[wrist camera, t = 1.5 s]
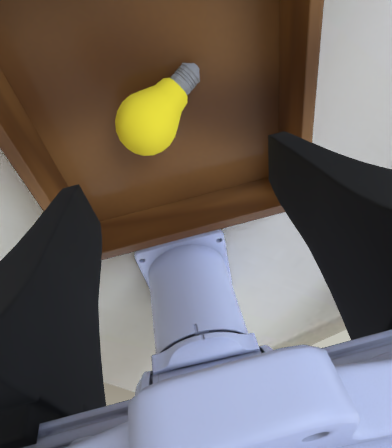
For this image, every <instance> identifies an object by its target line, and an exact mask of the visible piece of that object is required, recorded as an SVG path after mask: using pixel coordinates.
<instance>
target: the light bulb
mask: <svg viewBox="0 0 392 448" xmlns="http://www.w3.org/2000/svg"><path fill="white" fill-rule="evenodd" d="M199 70H200V69H199V67H198V66H197V65H196V64H195V63H182V64H181V66H180V67H178V69H177V70H176V71H175V72H174V73H175V74H173V75H172V76H171V78H163V79H162V80H161V81H159V82H158V83H157V84H156V85H154V86H152V87H149V88H146V89H143V90H140V91H138V92H136V93H134V94H131V95H130V96H128V97H127V98H126V99H125V100H124V101H123V102H122V103H121V105H120V107H119V108H118V110H117V114H116V118H115V127H116V133H117V135H118V137H119V140H120V141H121V142H122V144H123V145H124V146H125V147H126V148H127V149H129V150H130V151H132V152H133V153H135V154H139V155H142V156H150V155H155V154H158V153H160V152H162V151H164V150H165V149H166V148H167V147H168V146H170V144H171V143H172V141H173V139H174V138H175V135H176V132H177V129H178V125H179V121H180V117H181V113H182V111H183V109H184V107H185V106H186V104H187V95H188V94H189V93H191V92H190V91H192V90H193V88H195V86H197V83H199V82H200V74H199Z"/></svg>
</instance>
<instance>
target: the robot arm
mask: <svg viewBox="0 0 392 448" xmlns="http://www.w3.org/2000/svg"><path fill="white" fill-rule="evenodd" d="M268 170H269V182H270V184H271V186H272V189H273V191H274V193H275V195H276V197H277V199H278V201H279V203H280V204H281V206H282V207H283V209H284V210H285V212H286V213H287V215H288V216H289V218H290V219H291V221H292V222H293V224H294V225H295V227H296V229H297V230H298V232H299V233H300V235H301V236H302V238H303V239H304V241H305V242H306V244H307V246H308V247H309V249H310V251H311V253H312V255H313V257H314V259H315V261H316V263H317V265H318V267H319V269H320V270H321V273H322V275H323V277H324V279H325V281H326V283H327V285H328V287H329V289H330V292H331V294H332V296H333V298H334V301H335V303H336V305H337V307H338V310H339V312H340V314H341V316H342V319H343V321H344V324H345V326H346V329H347V331H348V333H349V336H350V338H351V340H350V341H347V342H343V343H340V344H336V345H332V346H328V347H325V348H318V347H313V346H309V345H298V346H291V347H284V348H279V349H275V350H272V349H271V348H270V347H269V346H267V345H263V346H259V345H258V343H257V340H256V337H255V334H254V333H249V334H248V331H247V328H246V325H245V322H244V319H243V316H242V313H241V310H240V307H239V304H238V301H237V298H236V295H235V292H234V289H233V286H232V281H231V275H230V269H229V263H228V257H227V251H226V245H225V239H224V234H223V232H222V231H221V230H214V231H210V232H207V233H203V234H199V235H195V236H191V237H188V238H184V239H180V240H176V241H172V242H169V243H165V244H161V245H157V246H153V247H150V248H146V249H142V250H138V251H136V252H135V254H134V257H135V260H136V262H137V264H138V266H139V268H140V270H141V272H142V274H143V276H144V278H145V280H146V282H147V284H148V287H149V289H150V293H151V304H152V316H153V327H154V338H155V349H156V354H155V355H152V370H153V371H148V372H144V374H143V375H142V378H141V379H140V381H139V383H138V384H137V387H136V392H135V396H134V397H133V398H132V399H130V400H127V401H123V402H119V403H116V404H112V405H108V406H106V402H105V394H104V385H103V374H102V363H101V352H100V336H99V314H98V298H99V284H100V272H101V259H102V233H101V223H100V221H99V220H98V218H97V216H96V214H95V212H94V211H93V209H92V207H91V205H90V203H89V201H88V200H87V198H86V196H85V194H84V192H83V191H82V189H81V187H80V185H79V184H78V185H74V186H70V187H66V188H63V189H62V190H61V191H60V192H59V193H58V194H57V196H56V197H55V198H54V199H53V201H52V202H51V203H50V204H49V206H48V207H47V208H46V210H45V211H44V212H43V213H42V215H41V216H40V217H39V218H38V220H37V221H36V222H35V224H34V225H33V226H32V227H31V228H30V229H29V231H28V232H27V233H26V234H25V235H24V236H23V238H22V239H21V240H20V241H19V242H18V243H17V245H16V246H15V247H14V248H13V249H12V250H11V251H10V252H9V253H8V254H7V255H6V256H5V257H4V258H3V259H2V260H1V261H0V448H392V169H387V168H383V167H379V166H375V165H372V164H368V163H364V162H361V161H358V160H355V159H352V158H349V157H346V156H343V155H341V154H338V153H335V152H333V151H330V150H328V149H325V148H323V147H320V146H318V145H316V144H313V143H311V142H309V141H307V140H304V139H302V138H300V137H298V136H295V135H293V134H290V133H288V132H285V131H283V132H279V133H275V134H271V135H268ZM218 238H220V239H218Z"/></svg>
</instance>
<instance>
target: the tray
mask: <svg viewBox="0 0 392 448" xmlns="http://www.w3.org/2000/svg"><path fill="white" fill-rule="evenodd" d="M323 5H324V0H0V148H1V150H2V151H3V153H4V154H5V156H6V157H7V159H8V160H9V161H10V163H11V164H12V166H13V167H14V169H15V170H16V172H17V173H18V175H19V176H20V177H21V179H22V180H23V182H24V183H25V185H26V186H27V188H28V189H29V191H30V192H31V193H32V195H33V196H34V198H35V199H36V201H37V202H38V204H39V205H40V207H41V208H42V209H43V211H45V210H46V208H47V207H48V206H49V204H50V203H51V202H52V201H53V199H54V198H55V197H56V196H57V194H58V193H59V192H60V191H61V190H62V189H63V188H66V187H70V186H74V185H78V184H79V185H80V187H81V189H82V191H83V192H84V194H85V196H86V198H87V200H88V201H89V203H90V205H91V207H92V209H93V211H94V212H95V214H96V216H97V218H98V220H99V221H100V223H101V233H102V259H101V260H104V259H108V258H112V257H115V256H119V255H123V254H127V253H131V252H134V251H138V250H142V249H146V248H150V247H153V246H157V245H161V244H165V243H169V242H172V241H176V240H180V239H184V238H188V237H191V236H195V235H199V234H203V233H207V232H210V231H214V230H218V229H222V228H226V227H229V226H233V225H237V224H241V223H245V222H248V221H252V220H256V219H260V218H264V217H268V216H271V215H275V214H279V213H283V212H285V210H284V209H283V207H282V206H281V204H280V203H279V201H278V199H277V197H276V195H275V193H274V191H273V189H272V186H271V184H270V182H269V170H268V135H271V134H275V133H279V132H283V131H285V132H288V133H290V134H293V135H295V136H298V137H300V138H302V139H304V140H307V141H309V142H311V143H312V134H313V123H314V111H315V99H316V87H317V76H318V64H319V52H320V40H321V29H322V17H323ZM182 63H195V64H196V65H197V66H198V67H199V69H200V70H199V74H200V82H199V83H197V86H195V88H193V90H192V91H190V92H191V93H189V94H188V95H187V104H186V106H185V107H184V109H183V111H182V113H181V117H180V121H179V125H178V129H177V132H176V135H175V138H174V139H173V141H172V143H171V144H170V146H168V147H167V148H166V149H165V150H164V151H162V152H160V153H158V154H155V155H150V156H142V155H139V154H135V153H133V152H132V151H130V150H129V149H127V148H126V147H125V146H124V145H123V144H122V142H121V141H120V140H119V137H118V135H117V133H116V127H115V118H116V114H117V110H118V108H119V107H120V105H121V103H122V102H123V101H124V100H125V99H126V98H127V97H128V96H130V95H131V94H134V93H136V92H138V91H140V90H143V89H146V88H149V87H152V86H154V85H156V84H157V83H158V82H159V81H161V80H162V79H163V78H171V76H172V75H173V74H175V73H174V72H175V71H176V70H177V69H178V67H180V66H181V64H182Z"/></svg>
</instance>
